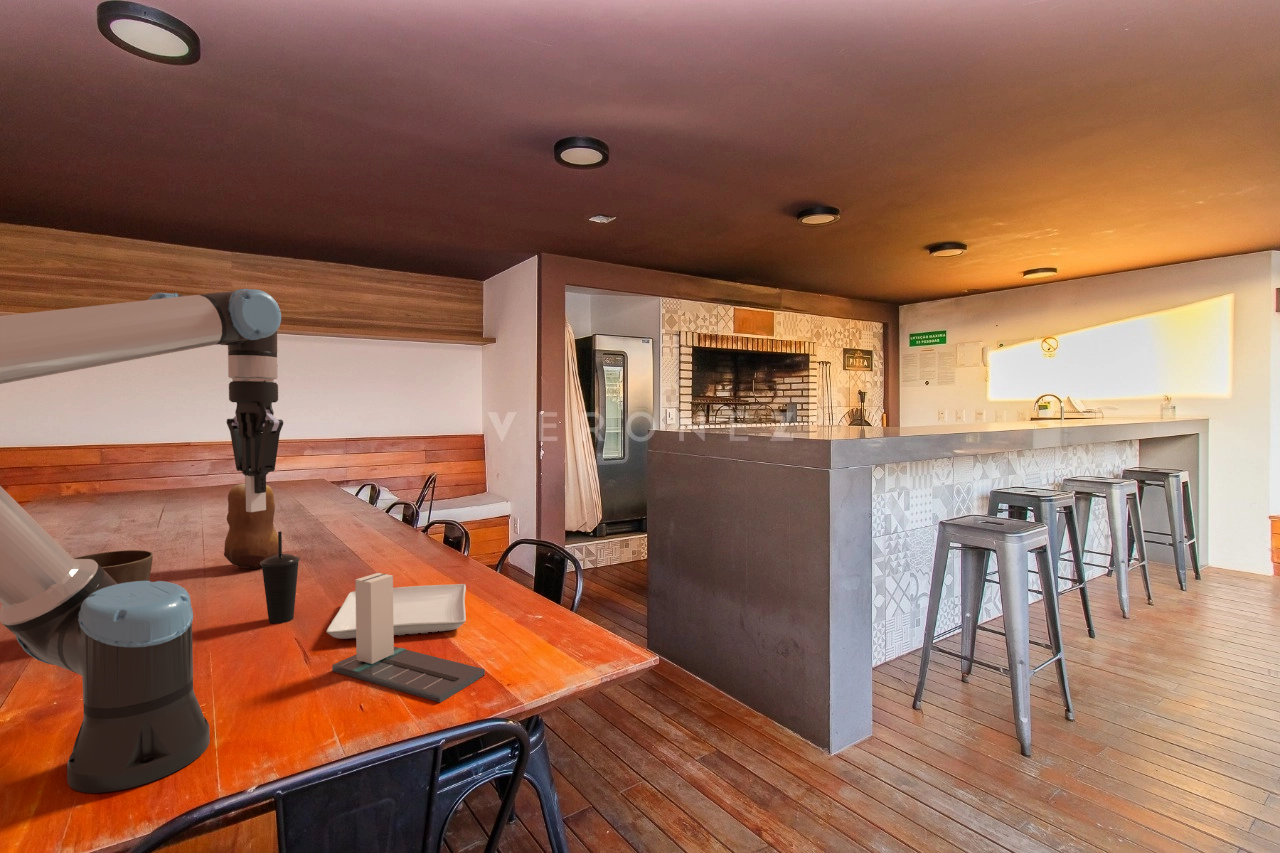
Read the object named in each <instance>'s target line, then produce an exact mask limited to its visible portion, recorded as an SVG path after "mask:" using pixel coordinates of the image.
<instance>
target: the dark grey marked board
mask: <svg viewBox="0 0 1280 853" xmlns="http://www.w3.org/2000/svg"><path fill="white" fill-rule="evenodd" d="M331 671H332V672H333V673H336V674H341V675H344V676H346V677H350V678H354V679H358V680H360V681H364V682H368V683H371V684H375V685H377V686H382V687H385V688H388V689H392V690H394V691H395V690H396V691H398V692H403V693H406V694H408V695H412V696H415V697H420V698H422V699H425V700H429V701H432V702H437V703H440V704H441V703H442V702H444V701H445V700H447V699H449V698H450V697H452V696H454V695H455V694H457V693H458V692H460V691H462V690H464V689H465V688H467V687H469V686H470V685H473V684H474V683H475V682H476V680H477V681H478V680H480V679H481V678H480V677H482V676H483V675H485V674H486V671H485V668H482V667H478V666H473V665H469V664H466V663H461V662H458V661H453V660H449V659H446V658H442V657H437V656H435V655H434V656H433V655H429V654H425V653H422V652H418V651H413V650H409V649H407V648H403V647H398V646H394V654H392V655H390V656H388V657H386V658H384V659H382V660H379V661H377V662H375V663H373V664H370V663H366V662H363V661H359V660H357V655H356V654H353V655H352V656H349V657H347V658H345V659H343V660H341V661H338V662H336V663H333V664H332V665H331ZM483 677H484V676H483ZM483 677H482V678H483ZM479 678H480V679H479Z"/></svg>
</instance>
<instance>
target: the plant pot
mask: <svg viewBox="0 0 1280 853" xmlns="http://www.w3.org/2000/svg"><path fill="white" fill-rule="evenodd" d="M153 557H154V552H153V551H148V550H140V549H139V550H137V549H135V550H133V549H132V550H130V549H129V550H115V551H114V550H113V551H106V552H100V553H99V552H98V553H92V554H87V555H81V556H77V557H72V558H73V559H92V560H94V561H95V562H96V563H97V564H98V565H99V566H100V567H101V568H102V569H103V570H104V571H105V572H106V573H107V574H108V575H109V576H110V577H111V578H112V579H113V580H114V581H115V582H116V583H117V584H121V583H127V582H135V581H150V577H151V572H152V565H153V559H154V558H153Z"/></svg>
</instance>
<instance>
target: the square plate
mask: <svg viewBox="0 0 1280 853" xmlns="http://www.w3.org/2000/svg"><path fill="white" fill-rule="evenodd" d="M466 590H467V585H466V584H465V583H457V584H456V583H455V584H433V585H429V584H428V585H427V584H426V585H414V586H413V585H412V586H411V585H410V586H400V587H393V625H394V635H398V636H406V635H405V634H409V635H418V633H421V634H429V633H428V632H432V633H436V632H438V631H439V632H445V631H446V632H447V631H453V630H456V629H459V628H460V627H461V626H463V625H464V624H465V623H466V621H467V619H466V618H467V616H466V614H467V613H466V603H465V602H466V601H465V600H466ZM326 633H327V634H328V635H330V636H331V637H332V638H335V639H340V640H341V639H343V640H344V639H346V640H347V639H356V590H354V591H350V592H349V593H348V594H347V596H346V598H345V599H344V602H343V603H342V605H341V606H340V608H339V610H338V611H337V613H336V615H335V616H334V618H333V619H332V621H331V623H330V624H329V626H328V627H327V629H326Z"/></svg>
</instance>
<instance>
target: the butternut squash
mask: <svg viewBox="0 0 1280 853" xmlns="http://www.w3.org/2000/svg"><path fill="white" fill-rule="evenodd" d="M227 503H228V504H227V505H228V506H227V507H228V508H227V511H228V512H227V515H226V521H227V524H228V531H227V535H226V537H225V539H224V551H223V557H225V559H227V560H228V562H230V564H232V565H233V566H235V567H238V568H248V569H249V570H250V569H251V570H256V569H262V566H261V565H260V562H261V561H262V560H264V559H266V558H268V557H270V556H273V555H276V554H279V553H278V532H277V531H276V529H275V526H274V520H275V519H274V517H275V512H276V511H275V510H276V507H275V504H276V503H275V498H274V492H273V489H272V487H271V486H269V485H268V484H266V510H262V511H256V512H246V490H245V483H241V484H240V483H239V484H237V485H235V486H233V487H232V488H231V489H230V490H229V492H228V495H227Z"/></svg>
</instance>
